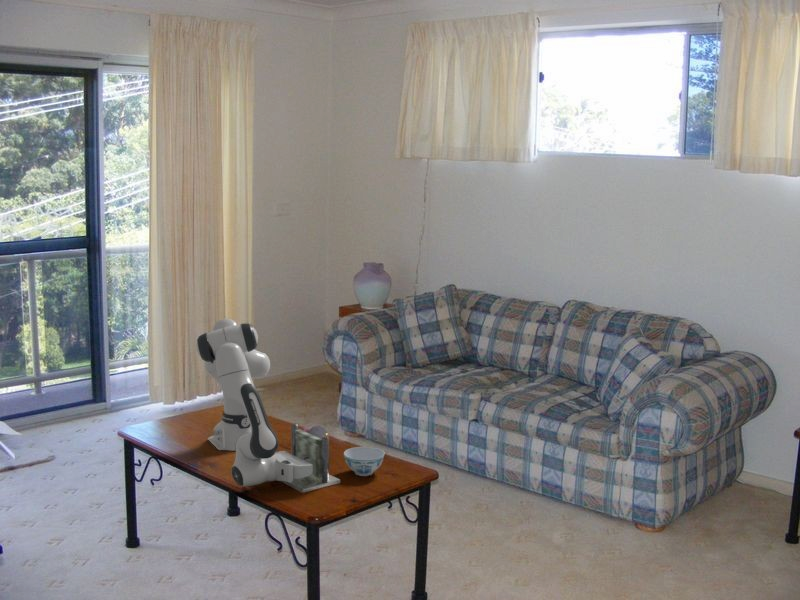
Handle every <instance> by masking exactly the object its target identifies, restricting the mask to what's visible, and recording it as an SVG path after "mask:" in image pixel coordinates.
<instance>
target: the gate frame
mask: <svg viewBox="0 0 800 600" xmlns="http://www.w3.org/2000/svg"><path fill="white" fill-rule="evenodd" d="M290 426H291V427H290V428H291V454H292V455H294V456H296V435H295V430H299V424H298V423H292V424H291V425H290ZM327 433H328V432H327ZM327 433H324V434H323V437H322V477H321V478H318V477H316V476H315V475H313V474H312V475H310V476H307V477H304V478H300V479H293V481H292V482H286V481H280V482H281V483H283V484H285V485H287V486H289V487H291V488H293V489H295V490H296V491H298V492H300V493H301V494H304V493H306V492H311V491H314V490H319V489H323V488H326V487H330V486H334V485H337V484H338V485H339V484H341V479H340V478H338V477H336V476H334V475H331V474H330V436H329V433H328V434H327Z"/></svg>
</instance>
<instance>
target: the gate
mask: <svg viewBox="0 0 800 600" xmlns="http://www.w3.org/2000/svg"><path fill="white" fill-rule="evenodd" d="M295 435H296V457H297V456H298V457H304V456H307V457H309V458H311V459H312V463H311V464H312V465H313V473H312V474H313V475H315V476H316V477H318V478H321V477H322V439H320V438H318V437H316V436H314V435H311V434H309V433H307V432H304V431H302V430H301V429H300V428H298V430H295Z"/></svg>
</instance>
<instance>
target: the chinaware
mask: <svg viewBox="0 0 800 600" xmlns="http://www.w3.org/2000/svg"><path fill="white" fill-rule="evenodd" d="M343 457H344V460H345V462H346V465H347V466H348V467H349V468H350V470H352V471H353V472H354V474H355V475H356V476H358V475H359V476H360V477H368V476H369V475H370V476H372V475H373V474H374V472H375V471H376V470H377V469H379V468H380V467H381V465H382V463H383V461H384V459H385V458H384V457H385V451H384V450H383V449H380V448H378V447H373V446H356V447H351V448H348V449H346V450H344V452H343Z"/></svg>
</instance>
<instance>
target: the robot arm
mask: <svg viewBox="0 0 800 600" xmlns="http://www.w3.org/2000/svg"><path fill="white" fill-rule="evenodd" d="M196 340H197V341H196V351H197V354H198V356H199V357H200V358H201V360H202V361H204V368H205V369H204V370H205V371H206V373H207V374H208V375H209V376H210V377H211V378H213V380H215V381H216V382H217V384H218V385H219V387H220V389H221V392H222V395H223V406H224V407H223V411H221V415H222V416H221V420H220V421H219V422H218V423H217V424H215V426H214V427H213V431H212V436H209V437H208V438H207V441H208V440H209V441H210V442H211V443H212V444H213V445H214V446H215V447H216V448H217V449H218V450H217V449H216V448H215V447H214V446H213V445H212V444H211V443H210V442H209V441H208V442H209V443H210V444H211V445H212V446H213V447H214V448H215V449H216V450H217V451H233V452H234V451H235V459H234V462H233V465H232V467H231V476H232V479H233V480H234V482H235V483H236V484H237V485H239V486H241V487H251V486H256V485H262V484H264V483H265V482H273V481H277V482H278V481H279V482H281V481H286V482H292V481H293V479H300V478H304V477H307V476H310V475H312V473H313V465H312V464H311V463H312V459H311V458H309V457H307V456H304V457H298V456H297V457H296V456H294V455H292V453H289V452H288V451H285V450H279V451H278V448H279V444H280V443H279V438H278V436H277V433H276V432H275V431H274V429H273V427H272V426H271V424H270V422H269V418H268V416H267V413H266V410H265V407H264V403H263V401H262V398H261V396H260V394H259V392H258V390H257V387H256V386H255V385H254V381H253V380H255V379H260V378H265V377H266V376H267V375H268V373H269V371H270V369H271V361H270V360H271V359H270V358H269V356H268V355H267V354H266V353H265V352H261V351H259V350H257V347H258V342H259V335H258V331H257V330H256V328H255V327H254V326H253V325H252V324H251V323H247V322H246V323H241V324H237V322H236V321H235V320H233V319H231V318H227V317H225V318H221V319H219V320H217V321H216V322H215V323H214V325H213V328H212V331H210V332H208V333H207V332H205V333H202V334H200V335H199V336H198V338H197V339H196Z"/></svg>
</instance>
